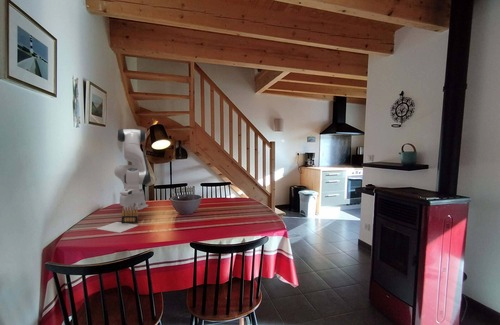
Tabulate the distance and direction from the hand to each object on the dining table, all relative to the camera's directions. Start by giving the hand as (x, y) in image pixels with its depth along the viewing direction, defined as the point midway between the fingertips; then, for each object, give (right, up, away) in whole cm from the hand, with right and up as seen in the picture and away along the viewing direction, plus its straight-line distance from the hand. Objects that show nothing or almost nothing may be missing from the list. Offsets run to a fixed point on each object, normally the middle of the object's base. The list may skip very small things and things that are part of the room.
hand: (132, 209), depth 174 cm
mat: (-4, -10, -12) cm, 16 cm away
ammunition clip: (-1, -9, -2) cm, 10 cm away
